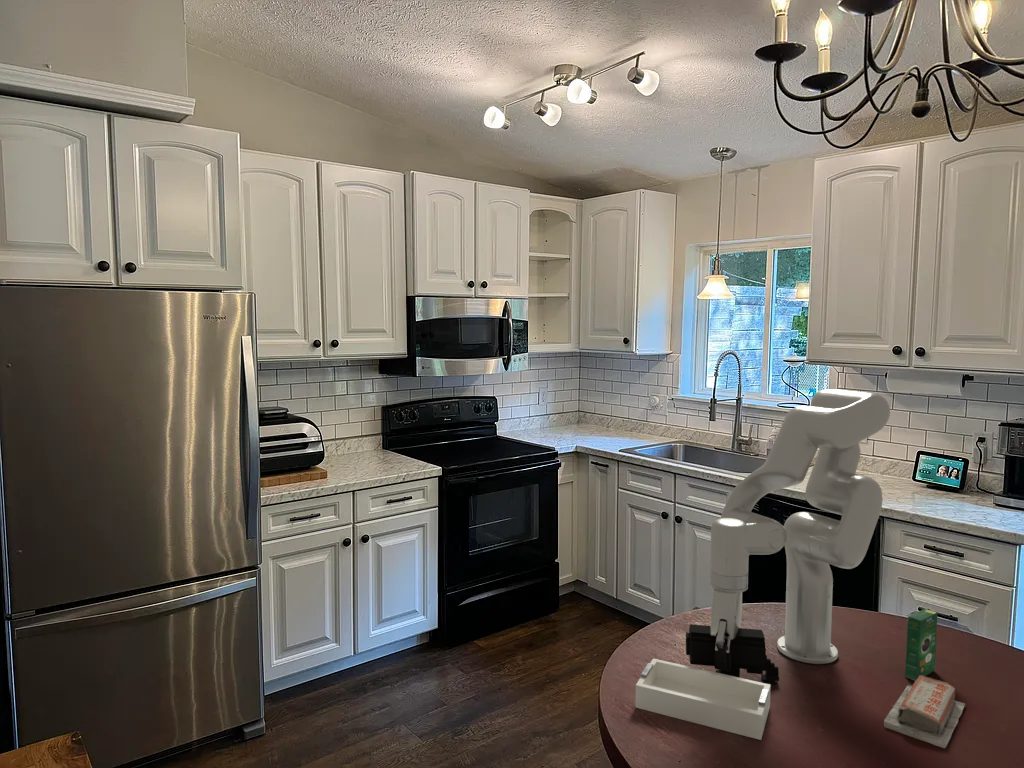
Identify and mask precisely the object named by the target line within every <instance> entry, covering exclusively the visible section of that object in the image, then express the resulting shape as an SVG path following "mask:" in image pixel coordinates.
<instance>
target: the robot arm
mask: <svg viewBox="0 0 1024 768" xmlns="http://www.w3.org/2000/svg"><path fill="white" fill-rule="evenodd" d="M890 410H891V408H890V405H889V402H888V401H887V399H886V398H885V397H884V396H883V395H880V394H878V393H875V392H869V391H868V392H866V391H855V390H847V389H836V388H835V389H834V388H832V389H831V388H830V389H822V390H818V391H817V392H815V393H814V395H813V397H812V398H811V401H810V405H798V406H795V407H794V408H792V409H790V410H789V411H788V412H787V414H786V415H785V418H784V420H782V421H783V422H782V423H781V426H780V428H779V430H778V433H777V435H776V437H775V439H774V441H773V443H772V446H771V448H770V450H769V452H768V455H767V457H766V460H765V461H764V462H763V464H762V465H761V466H760V467H758V468H757V469H755V470H754V471H752V472H751V473H749V474H748V475H747V476H746V477H745V478H744V479H743V480H741V481H740V482H739V483H738V484H737V485H736V486H735V487H734V488H733V489H732V491H731V492H730V495H729V497H728V499H727V501H726V503H725V505H724V507H723V509H722V512H721V515H720V518H717V519H715V520H714V521H713V522H712V523H711V528H710V529H711V530H710V556H709V557H710V560H709V561H710V562H709V563H710V564H709V565H710V566H709V568H710V569H709V586H710V587H711V588H712V589H713V592H712V598H711V609H710V610H711V611H710V623H709V624H710V625H709V626H710V635H711V636H715V635H716V633H717V638H716V646H715V661H714V666H713V667H714V669H716V670H722V671H727V672H730V671H731V652H730V646H731V640H733V639H734V638H735V636H736V634H737V632H738V630H739V628H741V625H742V616H743V614H742V613H743V612H742V611H743V593H744V592H746V591H747V590H748V589H749V586H748V585H749V559H750V558H749V556H750V555H758V556H759V555H761V556H762V555H763V556H764V555H772V554H776V553H778V552H780V551H781V550H782V548H784V550H785V555H786V556H785V557H786V584H785V585H786V588H785V589H786V591H785V623H784V625H785V626H784V635H782V636H781V637H779V638H778V639H777V642H776V646H777V649H778V650H779V652H780V653H781V654H783V655H784V656H786V657H787V658H790V659H791V660H795V661H798V662H800V663H806V664H813V665H824V664H826V665H827V664H830V663H833V662H835V661H836V660H837V659H838V657H839V650H838V648H837V647H836V646H835V645H834V644H832V643H831V641H832V617H833V616H832V614H833V613H832V612H833V592H834V591H833V587H834V584H833V583H834V578H833V572H832V569H831V566H830V565H832V566H834V567H837V568H840V569H846V570H852V569H854V568H856V567H858V566H859V565H860V564H861V563H862V561H864V558H865V557H866V555H867V551H868V550H869V546H870V543H871V542H872V541H871V540H872V537H873V535H874V531H875V529H876V526H877V524H878V520H879V517H880V515H881V510H882V508H883V500H884V499H883V491H882V488H881V486H880V484H879V483H878V482H877V481H876V480H875V479H873V478H871V477H869V476H867V475H863V474H860V473H857V469H858V465H859V462H860V459H861V446H860V444H859V443H860V442H861V441H863V440H865V439H868V438H869V437H871V436H873V435H875V434H877V433H878V432H879V431H881V430H883V428H884V427H885V426H886V424H887V423H888V421H889V419H890V415H891V411H890ZM817 450H818V452H817ZM816 453H817V456H816V458H815V461H814V464H813V467H812V470H811V472H810V475H809V478H808V481H807V483H806V487H805V493H804V494H805V496H804V497H805V499H806V501H807V503H809V505H810V506H812V507H814V508H817V509H819V510H821V511H825V512H829V513H832V514H836V515H840V516H841V519H840V520H838V519H835V518H832V517H828V516H824V515H821V514H817V513H814V512H811V511H810V512H809V511H799V512H795V513H792V514H791V515H790V516H788V517H787V518H786V520H785V522H784V523H783V524H782V523H781V522H780V521H777V520H775V519H773V518H770V517H768V516H764V515H761V514H758V513H755V512H752V510H753V509H754V508H755V507H754V506H755V505H756V504H757V503H758V502H759V501H760V499H762V498H763V497H764V496H766V495H767V494H770V493H772V492H774V491H778V490H782V489H785V488H789V487H794V486H797V485H799V484H801V483H803V481H805V478H806V476H807V474H808V471H809V469H810V467H811V464H812V462H813V460H814V457H815V455H816ZM725 634H729V637H728V636H725ZM725 640H728V642H727V645H726V643H724V642H725Z"/></svg>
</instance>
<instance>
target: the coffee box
mask: <svg viewBox="0 0 1024 768" xmlns="http://www.w3.org/2000/svg"><path fill="white" fill-rule="evenodd" d="M938 613H939V612H938V611H934V610H931V609H928V608H924V609H921V610H919V611H916V612H915V613H913V614H910V615H908V616H907V631H906V645H905V647H906V649H905V651H906V652H905V663H904V664H905V669H904V677H906V678H907V679H910V680H912V681H914V682H915V681H916V680H917V678H918V677H919V675H921V676H925V677H928V675H930V674H932V673H933V672H935V670H936V657H937V656H936V652H937V633H938V632H937V630H938Z"/></svg>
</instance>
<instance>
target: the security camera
mask: <svg viewBox="0 0 1024 768" xmlns="http://www.w3.org/2000/svg"><path fill="white" fill-rule="evenodd" d="M688 629H689V630H688V632H685V654H686V655H685V656H689V664H690V665H694V666H695V665H696V666H707V667H714V661H715V646H716V638H717V633H716V635H715V636H711V635H710V625H705V624H704V625H702V624H691V623H690V624H689V628H688ZM725 636H728V637H729V634H725ZM765 640H766V638H765V634H764V632H763V630H762V629H758V628H757V629H755V628H742V627H739V630H738V632H737V634H736V636H735V638H734V639H733V640H731V646H730V652H731V671H730V672H727V671H722V670H718V669H716V670H715V672H716V673H721V674H725V675H730V676H734V677H739V678H741V669H742V670H746V673H747V674H755V675H756V674H757V675H761V676H760V677H761V681H762V683H766V684H770V685H776V682H780V676H779V675H780V674H779V666H777V665H776V664H775V662H772V660H771V658H768V656H767V650H766V649H767V648H766V641H765ZM727 642H728V640H725V642H724V643H726V645H727ZM764 672H765V674H764Z"/></svg>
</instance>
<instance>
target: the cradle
mask: <svg viewBox="0 0 1024 768" xmlns="http://www.w3.org/2000/svg"><path fill="white" fill-rule="evenodd" d="M771 686H772V684H766V683H763V682H760V681H757V680H751V679H747V678H743V677H740V678H739V677H734V676H730V675H725V674H721V673H716V671H711V670H706V669H702V668H698V667H695V666H694V667H693V666H688V665H683V664H680V663H676V662H671V661H667V660H661V659H658V658H652V660H651V661H650V662H648V663H647V664H646V666H645V667H644V668H643V670H642V672H641V673H640V678H639V679H638V681H637V683H636V684H635V707H634V708H636V709H640V710H644V711H648V712H652V713H655V714H659V715H664V716H667V717H671V718H674V719H679V720H683V721H686V722H690V723H694V724H697V725H702V726H706V727H710V728H713V729H716V730H721V731H725V732H728V733H733V734H735V735H740V736H745V737H747V738H752V739H755V740H759V741H762V737H763V735H764V731H765V727H766V723H767V719H768V715H769V713H770V709H771Z"/></svg>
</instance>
